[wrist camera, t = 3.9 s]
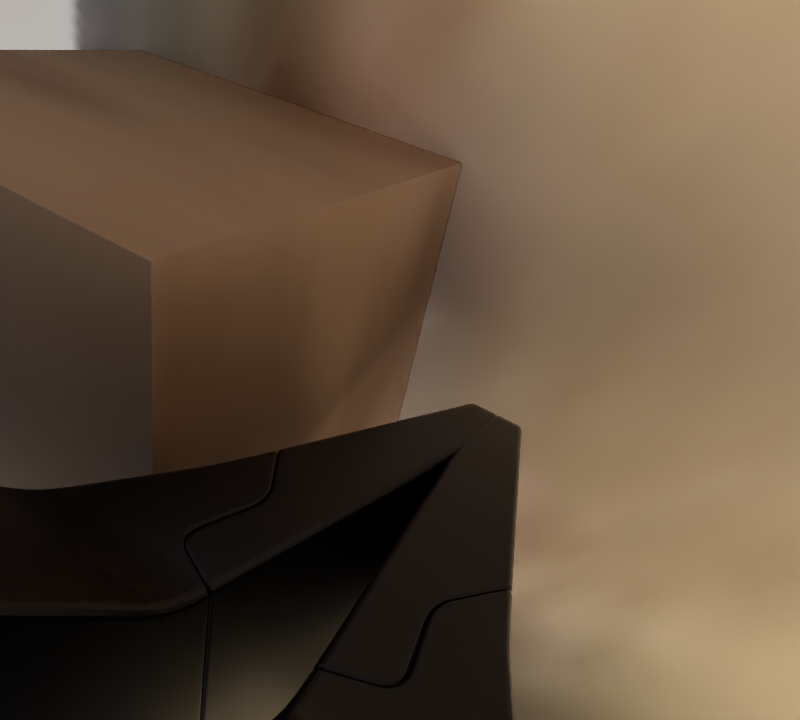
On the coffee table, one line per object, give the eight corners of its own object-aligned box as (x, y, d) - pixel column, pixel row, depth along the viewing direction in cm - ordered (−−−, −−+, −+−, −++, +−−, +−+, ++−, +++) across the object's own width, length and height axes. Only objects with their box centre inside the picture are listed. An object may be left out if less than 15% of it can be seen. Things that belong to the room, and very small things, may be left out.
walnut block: (389, 455, 13) (153, 680, 8) (145, 320, 15) (-144, 436, 11) (462, 163, 10) (151, 262, 5) (141, 50, 12) (-270, 48, 8)
